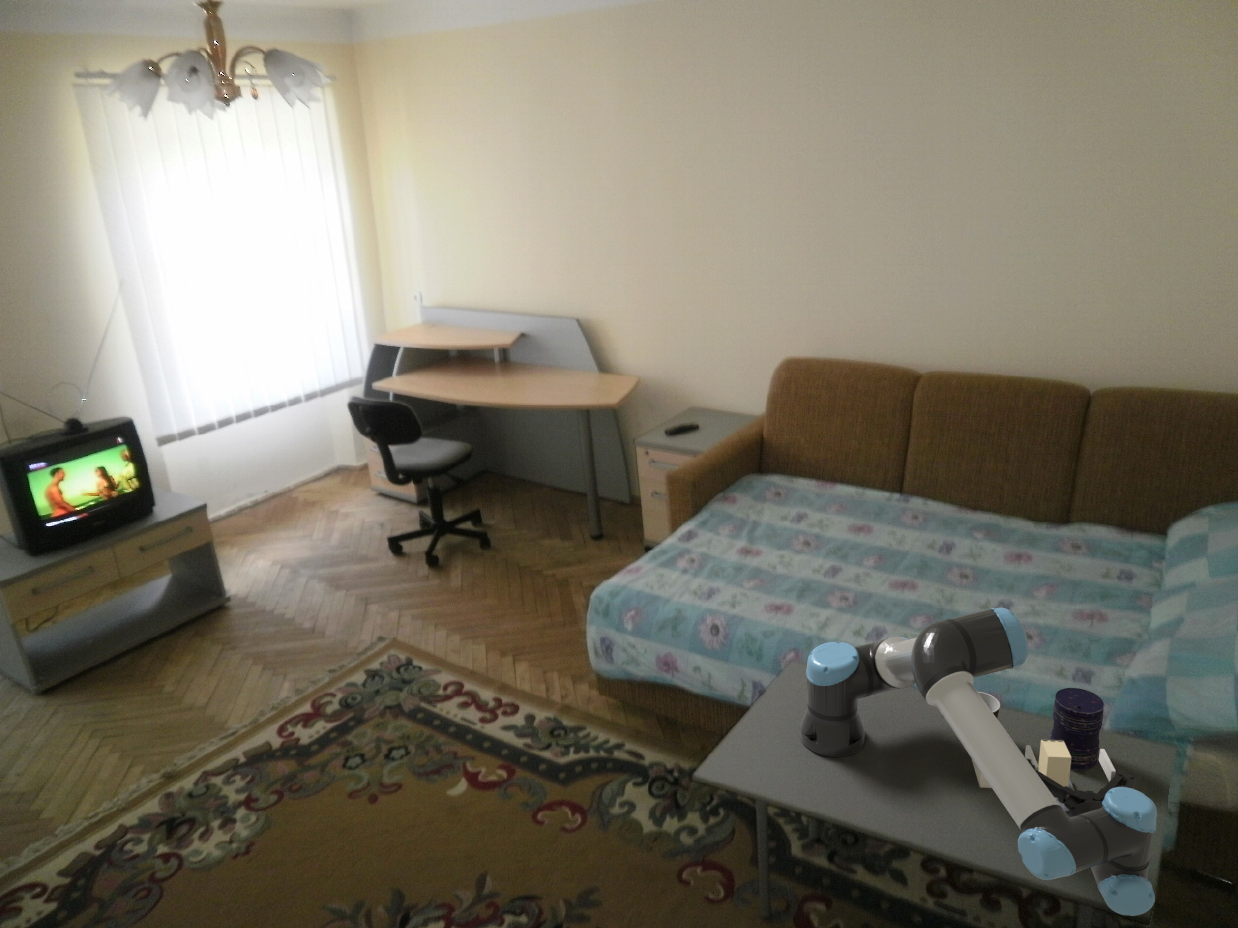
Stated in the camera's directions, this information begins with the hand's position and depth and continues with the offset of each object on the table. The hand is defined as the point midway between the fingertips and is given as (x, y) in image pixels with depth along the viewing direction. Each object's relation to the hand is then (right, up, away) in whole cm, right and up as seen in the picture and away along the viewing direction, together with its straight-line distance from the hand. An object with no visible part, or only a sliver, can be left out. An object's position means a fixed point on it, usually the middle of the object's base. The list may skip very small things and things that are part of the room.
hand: (1064, 752), depth 176 cm
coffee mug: (-5, -8, +34) cm, 36 cm away
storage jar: (+15, -9, +26) cm, 31 cm away
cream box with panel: (-6, -12, +22) cm, 26 cm away
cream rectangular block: (+5, -13, +15) cm, 21 cm away
